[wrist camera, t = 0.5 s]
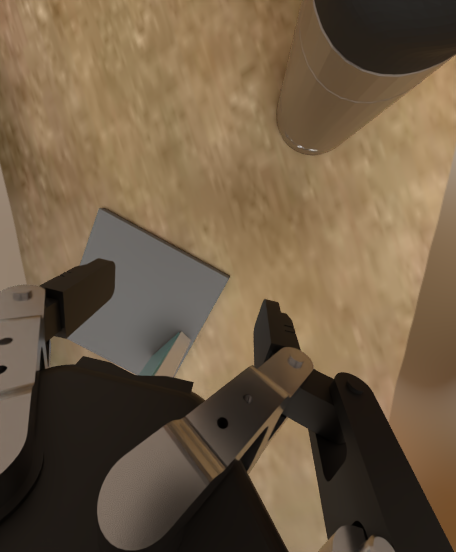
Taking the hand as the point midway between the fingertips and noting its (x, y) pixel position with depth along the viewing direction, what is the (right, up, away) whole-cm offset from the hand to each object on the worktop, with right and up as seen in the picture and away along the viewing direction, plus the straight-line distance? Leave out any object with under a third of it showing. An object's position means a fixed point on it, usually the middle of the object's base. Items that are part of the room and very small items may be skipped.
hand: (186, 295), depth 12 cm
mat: (-11, -3, +24) cm, 27 cm away
